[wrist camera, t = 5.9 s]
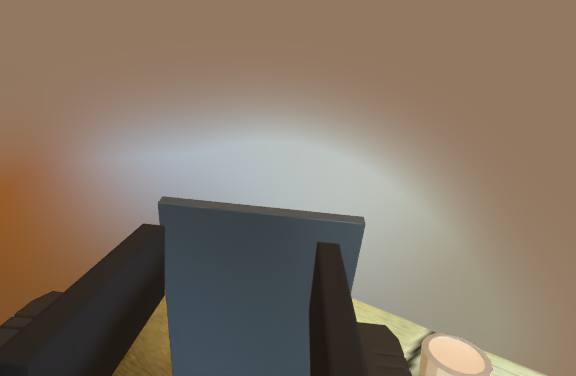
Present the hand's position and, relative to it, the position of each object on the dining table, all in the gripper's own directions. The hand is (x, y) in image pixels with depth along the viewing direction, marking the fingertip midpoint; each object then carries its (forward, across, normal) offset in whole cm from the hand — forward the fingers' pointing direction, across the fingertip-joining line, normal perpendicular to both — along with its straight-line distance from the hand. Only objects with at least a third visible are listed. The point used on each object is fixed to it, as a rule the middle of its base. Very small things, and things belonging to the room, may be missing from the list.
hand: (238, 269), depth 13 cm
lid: (+10, 0, -8) cm, 13 cm away
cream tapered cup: (+21, +20, -26) cm, 39 cm away
